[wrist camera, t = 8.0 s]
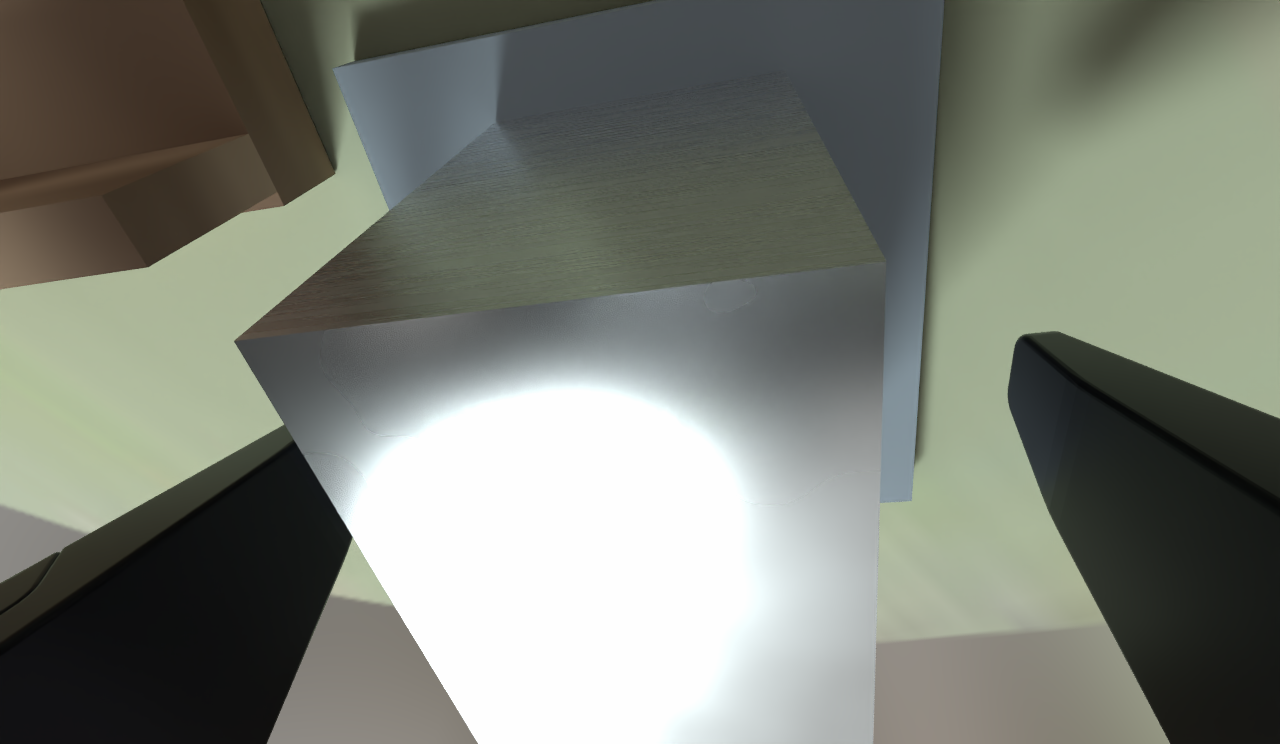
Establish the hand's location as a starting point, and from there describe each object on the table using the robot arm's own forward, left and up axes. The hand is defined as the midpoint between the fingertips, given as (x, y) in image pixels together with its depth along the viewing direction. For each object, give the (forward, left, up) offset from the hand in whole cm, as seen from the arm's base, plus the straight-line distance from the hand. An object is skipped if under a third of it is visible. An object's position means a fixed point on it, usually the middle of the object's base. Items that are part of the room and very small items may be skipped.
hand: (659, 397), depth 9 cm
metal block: (0, 0, -2) cm, 2 cm away
